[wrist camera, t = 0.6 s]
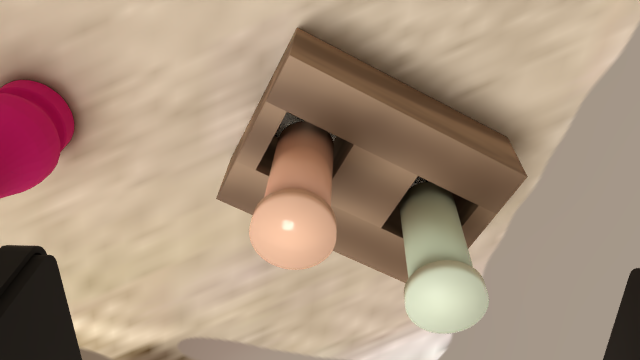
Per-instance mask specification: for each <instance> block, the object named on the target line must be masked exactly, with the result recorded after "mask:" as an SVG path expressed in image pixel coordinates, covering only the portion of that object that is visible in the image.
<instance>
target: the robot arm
mask: <svg viewBox="0 0 640 360" xmlns="http://www.w3.org/2000/svg"><path fill="white" fill-rule="evenodd" d="M0 360H82V358H81V354H80V350H79V346H78V342H77V338H76V334H75V331H74V327H73V323H72V319H71V315H70V311H69V307H68V303H67V299H66V296H65V292H64V288H63V284H62V280H61V276H60V272H59V268H58V265H57V261H56V259H55V258H54V256H52V255H47V254H46V251H45V250H44V249H43V248H42V247H40V246H17V245H6V246H2V247H1V248H0ZM603 360H640V268H636V269H633V270H632V271H631V273H630V276H629V278H628V281H627V285H626V288H625V291H624V295H623V298H622V301H621V304H620V307H619V310H618V314H617V317H616V320H615V323H614V326H613V329H612V333H611V336H610V339H609V342H608V345H607V349H606V352H605V355H604V358H603Z"/></svg>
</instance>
